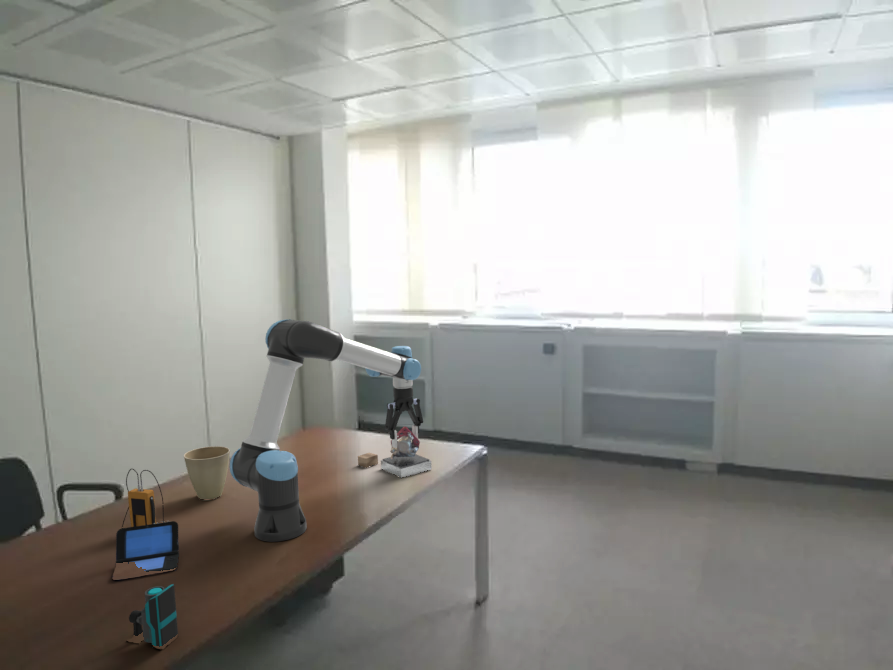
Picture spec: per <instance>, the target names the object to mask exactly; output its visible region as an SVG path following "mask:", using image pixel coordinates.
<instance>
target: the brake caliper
mask: <svg viewBox="0 0 893 670" xmlns="http://www.w3.org/2000/svg"><path fill="white" fill-rule="evenodd" d="M412 436H413V437H412ZM420 443H421V441H420V440H419V437H418V438H417V437H416V436H415V435H414V434H413V433H412V430H410V429H409V428H408V427H407V426H403V427H402V428H400V430H399V431H397V448H394V447H392V439H390V446H391V448H390V453H391V456H390V457H391V459H393V458H394V457H395V456H396V457H414V456H415V454H416V455H417V452H418V451H419V448H420Z"/></svg>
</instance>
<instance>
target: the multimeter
mask: <svg viewBox="0 0 893 670" xmlns="http://www.w3.org/2000/svg"><path fill="white" fill-rule="evenodd" d="M132 470H133V471H134V472H135V473H136V475H137V488H136V487H135V488H133V489H131V490H129V487H128V476H129V473H130V472H131V471H132ZM146 471H147V472H149V473H150V474H151V475H152V476H153V477H154V479H155V481H156V483H157V485H158V487H159V488H158V489H159V492H160V496H161V501H162V503H164V498H163V493H162V490H161V487H160V483H159V482H158V480H157V477H156V476H155V474H154V473H153V472H152V471H151V470H148V469H143V470H142V471H141V472H140V475H139V473H138V472H137V470H136V469H135V468H130V469H129V470H128V472H127V473H126V477H125V486H126V489H127V500H128V507H127V510H126V512H125V516H124V518H123V522H122V524H121V528H122V527H123V528H124V525H125V524H124V523H125V520H126V517H127V514H128V512H129V520H130V527H135V526H142V525H149V524H156V523H157V517H156V514H157V513H156V504H155V503H156V502H155V492H154V490H153V489H145V488H144V486H143V482H142V481H143V480H142V474H143V473H144V472H146ZM139 476H140V477H139ZM139 478H140V480H139ZM164 510H165V509H164V506H162V522H163V523H164V522H165V521H164Z"/></svg>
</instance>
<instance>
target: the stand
mask: <svg viewBox="0 0 893 670" xmlns="http://www.w3.org/2000/svg"><path fill="white" fill-rule="evenodd" d="M432 467H433V465H432V460H430V459H429V458H426V457H425V456H424V457H423V456H421V455H419V454H417V453H416V454H415V456H414V457H396V456H395V457H394V458H393V459H391V456H389V457H385V458H382V459H381V460H380V469H381V470H382V469H383V471H384V470H385V471H384V472H387V471H388V472H387V473H389V472H390V473H389V474H391V473H392V474H391V475H393V474H395V475H397V476H396V477H398V476H399V477H398V478H400V477H401V478H400V479H403V478H402V477H404V478H407V477H410V475H411V476H414V475H418V474H421V473H425V472H427V470H428V471H431V469H432ZM424 471H425V472H424ZM420 472H421V473H420ZM395 475H394V476H395ZM406 476H407V477H406Z"/></svg>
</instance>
